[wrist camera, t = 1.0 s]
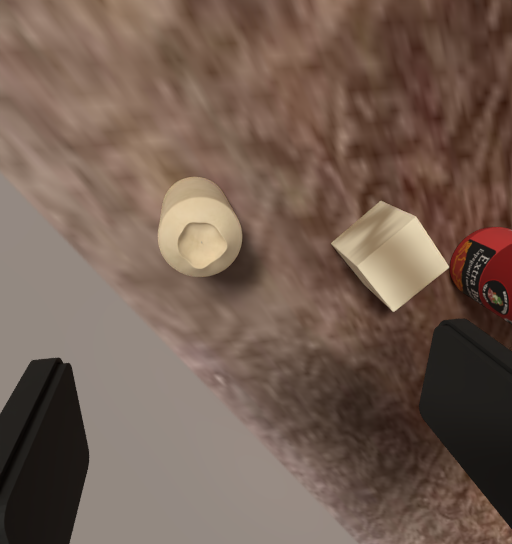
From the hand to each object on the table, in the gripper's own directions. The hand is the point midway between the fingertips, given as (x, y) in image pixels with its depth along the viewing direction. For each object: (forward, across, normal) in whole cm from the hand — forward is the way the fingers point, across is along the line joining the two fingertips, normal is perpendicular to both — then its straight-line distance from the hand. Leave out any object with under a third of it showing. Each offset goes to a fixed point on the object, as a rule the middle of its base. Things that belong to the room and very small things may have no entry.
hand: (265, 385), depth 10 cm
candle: (+26, +1, +1) cm, 26 cm away
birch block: (+26, -16, +5) cm, 31 cm away
